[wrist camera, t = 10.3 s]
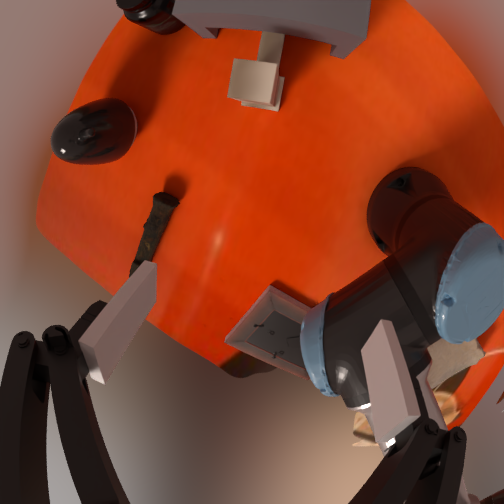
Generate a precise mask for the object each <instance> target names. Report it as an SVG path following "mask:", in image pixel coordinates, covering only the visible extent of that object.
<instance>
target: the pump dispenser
mask: <svg viewBox="0 0 504 504" xmlns="http://www.w3.org/2000/svg"><path fill="white" fill-rule="evenodd" d="M136 134H137V120H136V116H135V114H134V112H133V111H132V109H131V108H130V107H129V106H128V105H127V104H126V103H124V102H123V101H121V100H119V99H116V98H104V99H99V100H96V101H92V102H90V103H87V104H85V105H83V106H81V107H79V108H77V109H75V110H73V111H72V112H70V113H69V114H67V115H66V116H65V117H64V118H63V119H62V120H61V121H60V122H59V123H58V124H57V126H56V127H55V128H54V130H53V133H52V136H51V147H52V150H53V152H54V154H55V155H56V156H57V157H58V158H60V159H61V160H63V161H66V162H69V163H73V164H80V165H97V164H105V163H110V162H113V161H116V160H118V159H120V158H121V157H123V156H124V155H125V154H126V153H127V151H128V150H129V149H130V147H131V146H132V144H133V142H134V140H135V138H136Z"/></svg>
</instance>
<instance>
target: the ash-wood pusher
mask: <svg viewBox="0 0 504 504" xmlns="http://www.w3.org/2000/svg"><path fill="white" fill-rule="evenodd" d="M284 39H285V34H279V33H272V32H265V31H262V36H261V41H260V46H259V51H258V57H257V61H253V60H244V59H234V61H233V67H232V72H231V78H230V84H229V90H228V96H227V97H229V98H232V99H236V100H239V101H242V104H241V105H242V106H249V107H256V108H262V109H268V110H274V111H279V106H280V100H281V95H282V90H283V84H284V79H285V78H284V77H281V76H279V66H280V60H281V55H282V49H283V44H284Z"/></svg>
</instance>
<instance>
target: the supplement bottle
mask: <svg viewBox="0 0 504 504" xmlns="http://www.w3.org/2000/svg"><path fill="white" fill-rule="evenodd" d="M116 2H117V6H119V8H121V9H123V11H124V15H125V17H126V18H127V19H128V20H129V21H131V22H133V23H135V24H138V25H140V26H142V27H144V28H146V29H148V30H151V31H153V32H155V33H157V34H161V35H167V34H172V33H174V32H177V31H178V30H180V29H181V28H182V27H184V26H185V23H183V22H182V21H181V20H179V19H178V18H176V17H175V16H174V15H172V12H173V8H174V4H175V0H116Z"/></svg>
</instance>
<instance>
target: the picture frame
mask: <svg viewBox="0 0 504 504" xmlns="http://www.w3.org/2000/svg"><path fill="white" fill-rule="evenodd" d="M311 309H312V308H310V307H308V306H306V305H305V304H303V303H301V302H299V301H298V300H296V299H294V298H292V297H291V296H289V295H287V294H285V293H283V292H282V291H280V290H278V289H276V288H275V287H273V286H271V285H269V286H268V287H267V289H266V290H265V291H264V292H263V293H262V295H261V296H260V297H259V298H258V299H257V301H256V302H255V303H254V304H253V305H252V307H251V308H250V309H249V310H248V311H247V313H246V314H245V315H244V316H243V317H242V318H241V320H240V321H239V322H238V323H237V324H236V326H235V327H234V328H233V329H232V330H231V331H230V333H229V334H228V335H227V336H226V338H225V343H227V344H229V345H231V346H233V347H235V348H237V349H239V350H241V351H243V352H245V353H247V354H249V355H251V356H253V357H256V358H258V359H260V360H262V361H264V362H267V363H269V364H271V365H273V366H275V367H278V368H280V369H282V370H285V371H287V372H289V373H292V374H294V375H297V376H299V377H301V378H304V379H306V380H309V379H310V377H309V375H308V372H307V370H306V367H305V364H304V361H303V357H302V352H301V345H300V333H301V325H302V321H303V319H304V317H305V315H306V314H307V313H308V311H309V310H311Z"/></svg>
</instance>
